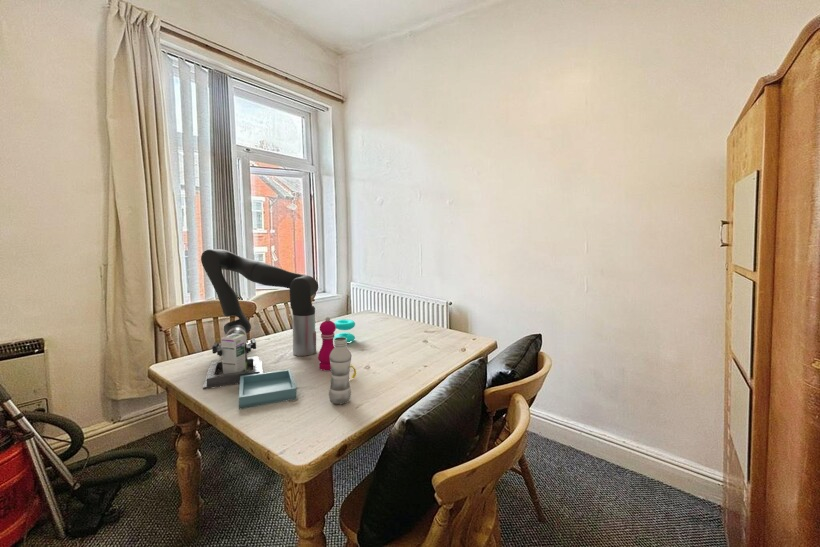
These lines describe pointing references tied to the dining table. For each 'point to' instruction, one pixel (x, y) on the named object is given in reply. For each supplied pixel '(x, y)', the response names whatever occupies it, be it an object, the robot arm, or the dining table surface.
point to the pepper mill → (326, 343)
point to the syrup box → (234, 353)
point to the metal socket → (230, 378)
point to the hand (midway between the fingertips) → (234, 352)
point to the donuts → (345, 325)
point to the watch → (354, 371)
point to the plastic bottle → (340, 372)
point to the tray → (266, 388)
